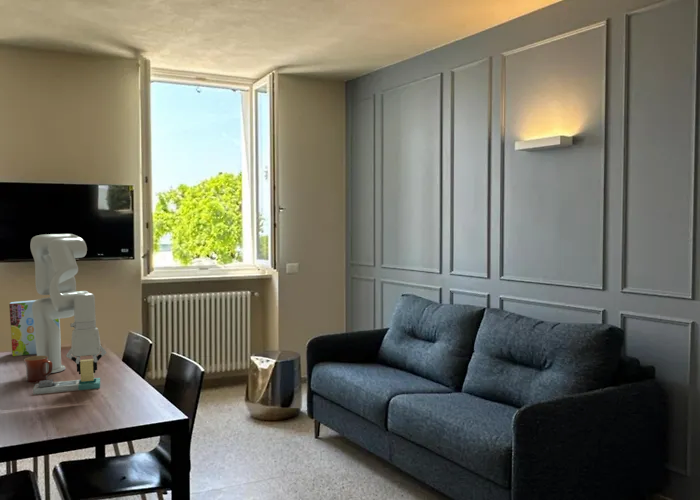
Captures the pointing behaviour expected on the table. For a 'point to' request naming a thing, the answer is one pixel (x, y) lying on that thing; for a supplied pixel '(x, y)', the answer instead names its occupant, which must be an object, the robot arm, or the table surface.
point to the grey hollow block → (46, 383)
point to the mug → (37, 368)
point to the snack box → (24, 328)
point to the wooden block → (86, 370)
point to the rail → (67, 386)
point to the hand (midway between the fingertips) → (87, 372)
